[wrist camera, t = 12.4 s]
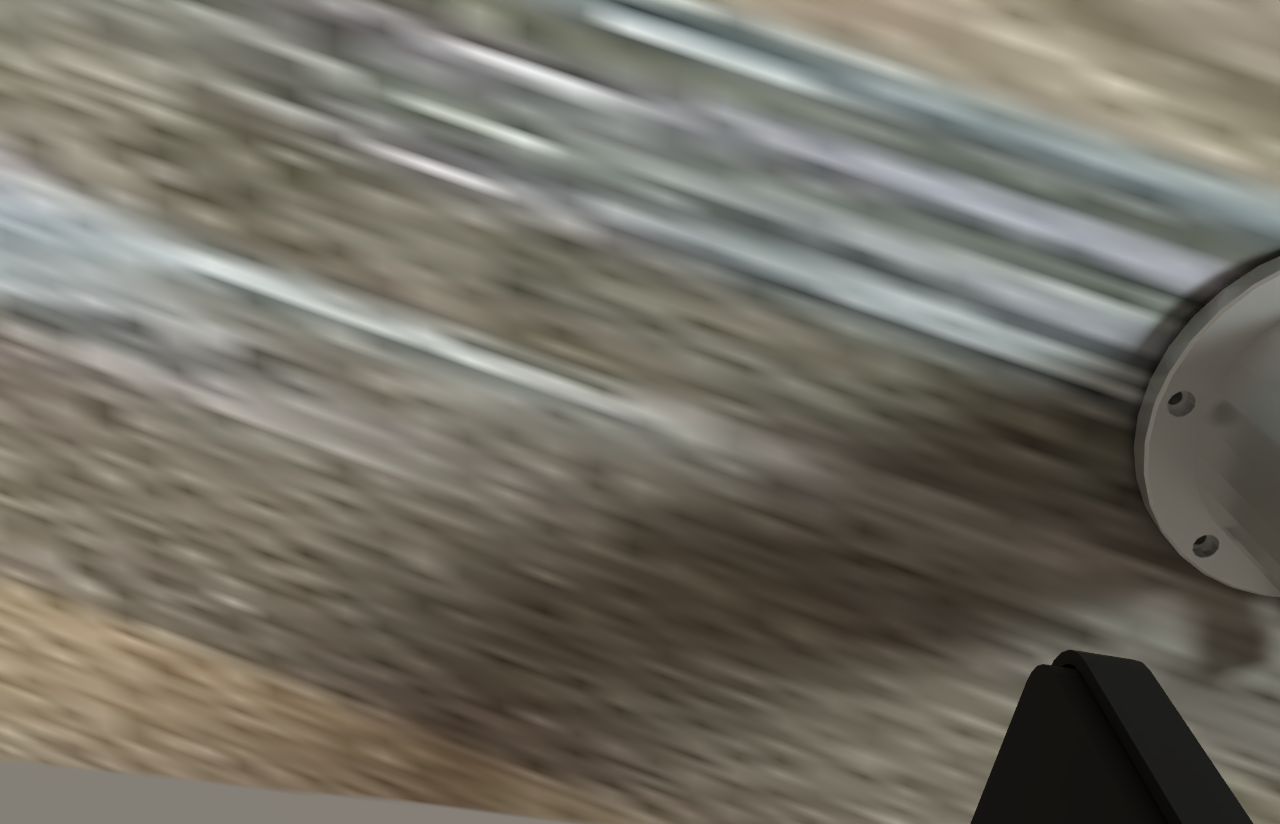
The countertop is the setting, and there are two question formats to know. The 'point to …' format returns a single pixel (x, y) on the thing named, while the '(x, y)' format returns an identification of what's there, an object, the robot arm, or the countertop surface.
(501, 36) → the countertop surface
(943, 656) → the countertop surface
